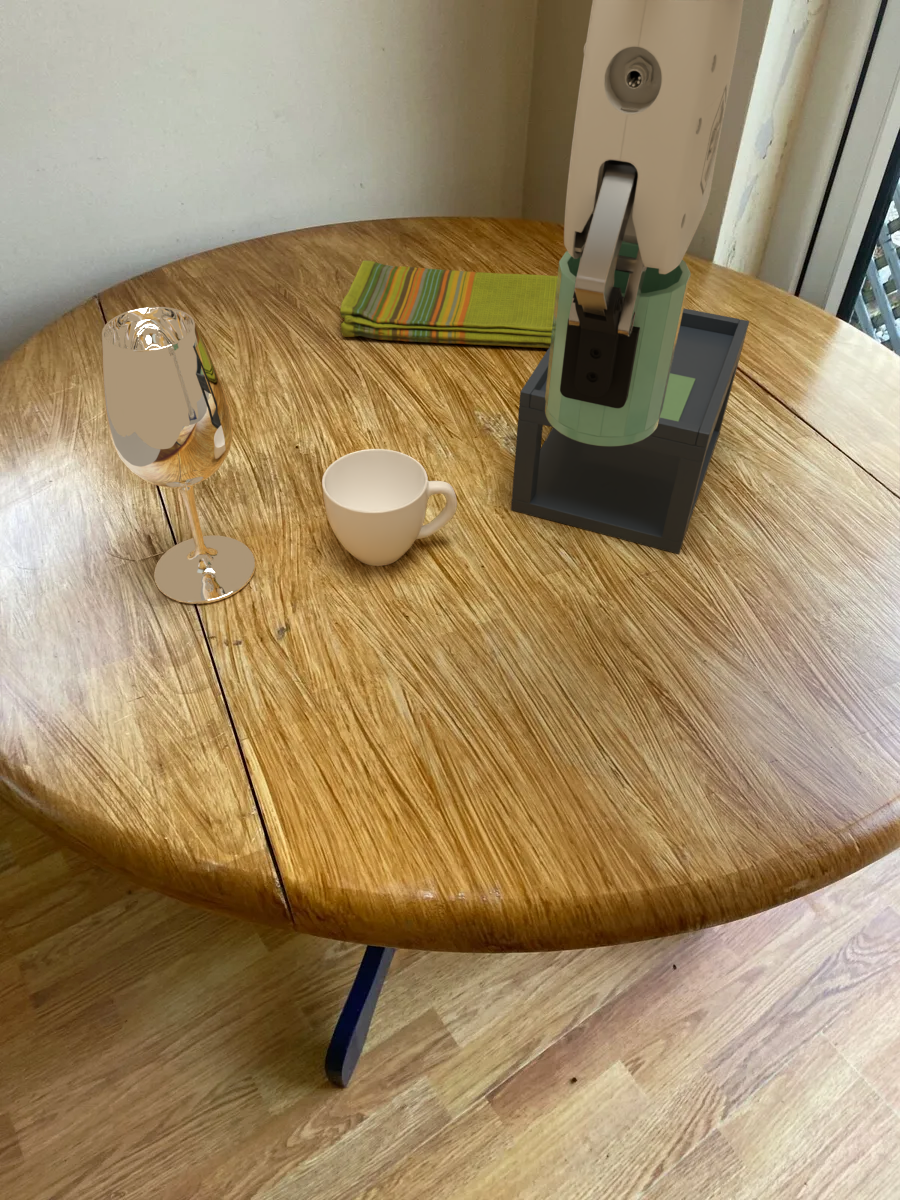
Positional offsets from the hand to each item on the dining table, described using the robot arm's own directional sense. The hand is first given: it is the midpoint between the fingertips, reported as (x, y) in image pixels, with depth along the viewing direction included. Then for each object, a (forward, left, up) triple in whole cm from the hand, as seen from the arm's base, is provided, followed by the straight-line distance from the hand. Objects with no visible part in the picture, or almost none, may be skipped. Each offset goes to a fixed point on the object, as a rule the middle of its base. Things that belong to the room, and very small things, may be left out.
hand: (610, 362), depth 46 cm
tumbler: (0, 0, -3) cm, 3 cm away
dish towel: (+20, -47, -24) cm, 57 cm away
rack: (+2, -24, -24) cm, 34 cm away
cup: (+16, -7, -24) cm, 30 cm away
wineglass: (+28, +1, -24) cm, 37 cm away
